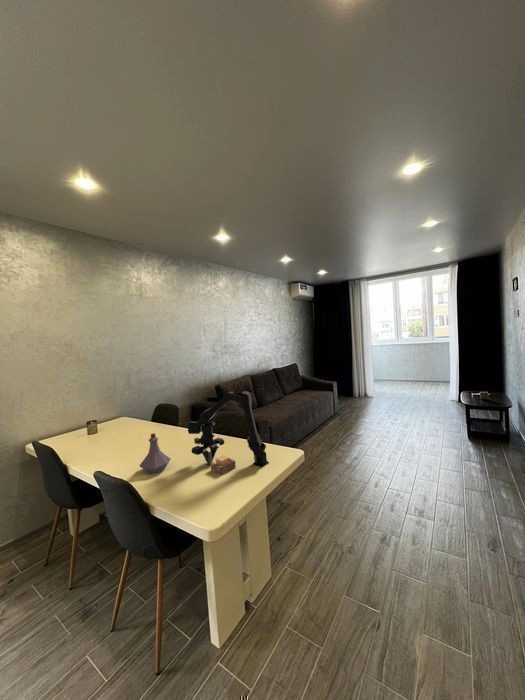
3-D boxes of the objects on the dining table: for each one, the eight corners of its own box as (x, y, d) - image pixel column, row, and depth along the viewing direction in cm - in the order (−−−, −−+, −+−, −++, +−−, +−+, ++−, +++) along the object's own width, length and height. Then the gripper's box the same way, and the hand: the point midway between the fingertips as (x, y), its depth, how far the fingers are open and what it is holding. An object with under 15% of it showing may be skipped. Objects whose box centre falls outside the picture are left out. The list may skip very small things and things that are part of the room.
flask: (140, 467, 152) (137, 432, 151) (171, 460, 158) (168, 427, 157) (138, 480, 136) (135, 441, 136) (172, 472, 142) (169, 435, 142)
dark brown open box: (235, 467, 142) (235, 460, 142) (221, 475, 135) (221, 467, 135) (225, 463, 148) (224, 456, 148) (210, 470, 141) (210, 463, 141)
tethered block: (230, 468, 142) (229, 457, 142) (222, 472, 138) (221, 461, 138) (211, 461, 153) (211, 450, 153) (204, 464, 149) (203, 453, 149)
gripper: (212, 426, 162) (214, 451, 162) (185, 435, 148) (187, 463, 149) (223, 429, 154) (226, 456, 155) (196, 439, 141) (198, 468, 141)
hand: (209, 460), depth 150 cm, fingers closed on tethered block, 3 cm apart
